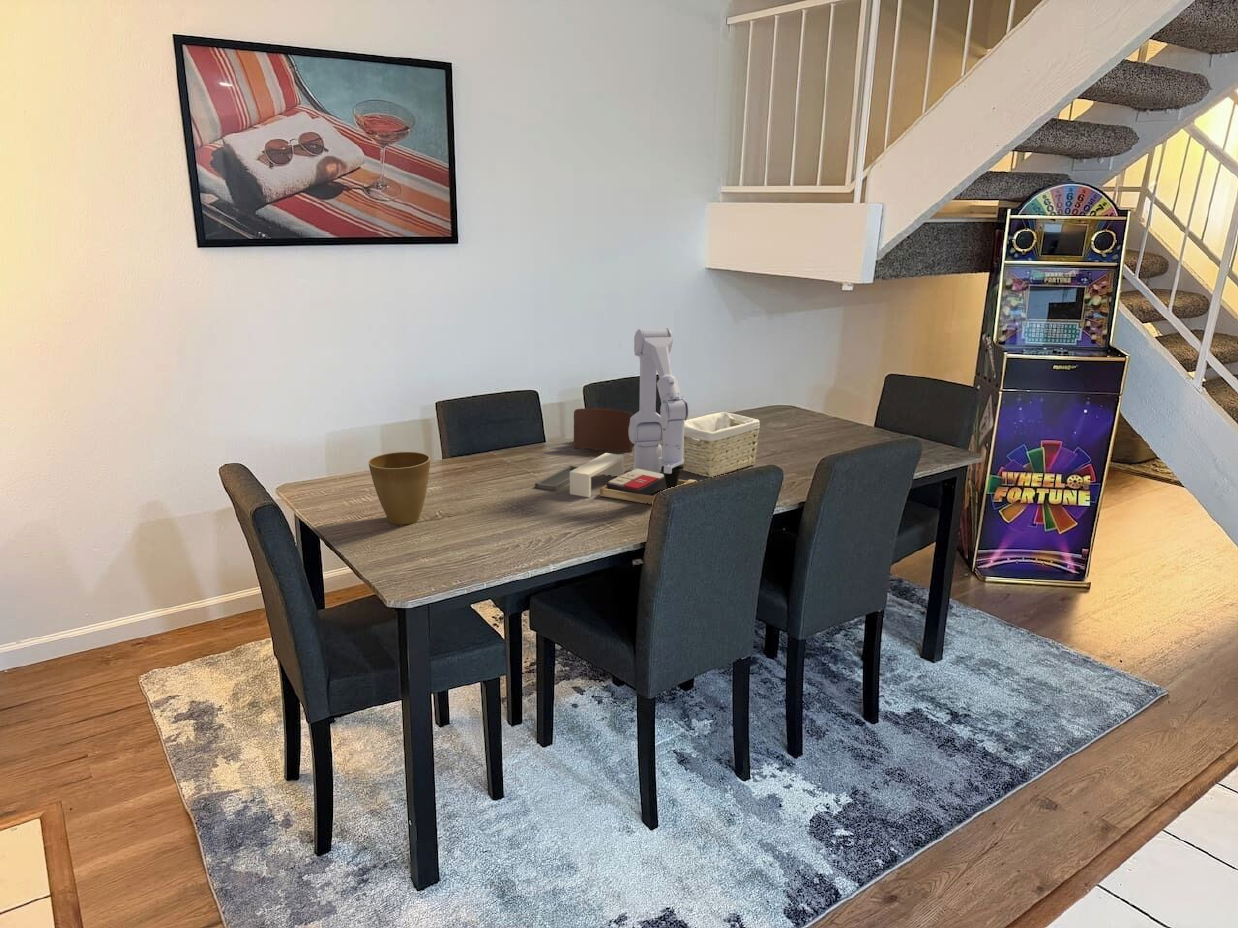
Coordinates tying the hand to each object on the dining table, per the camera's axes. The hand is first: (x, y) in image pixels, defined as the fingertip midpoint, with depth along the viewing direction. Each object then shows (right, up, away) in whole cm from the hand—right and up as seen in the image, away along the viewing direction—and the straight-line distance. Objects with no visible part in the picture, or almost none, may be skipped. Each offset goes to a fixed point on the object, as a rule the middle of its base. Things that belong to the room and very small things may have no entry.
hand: (671, 491), depth 241 cm
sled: (-6, 0, +3) cm, 7 cm away
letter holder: (-19, +13, +51) cm, 56 cm away
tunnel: (-26, +2, +12) cm, 29 cm away
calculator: (-9, 0, +5) cm, 11 cm away
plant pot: (-69, -7, -20) cm, 72 cm away
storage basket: (+15, +6, +29) cm, 34 cm away
